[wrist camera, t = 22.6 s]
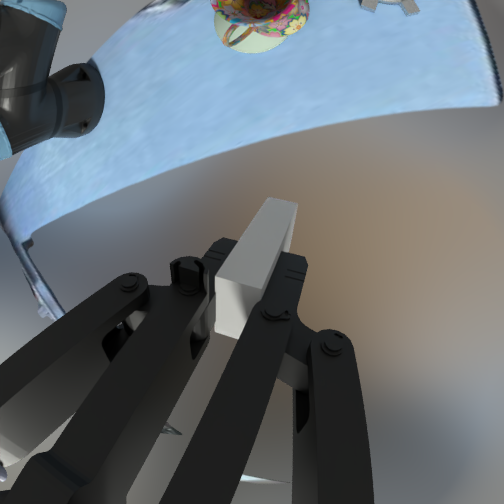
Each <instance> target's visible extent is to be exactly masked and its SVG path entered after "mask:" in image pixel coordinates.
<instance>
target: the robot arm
mask: <svg viewBox="0 0 504 504" xmlns="http://www.w3.org/2000/svg"><path fill="white" fill-rule="evenodd" d="M66 11H67V8H66V5H65V4H64V3H63V2H61V1H57V0H1V2H0V160H3V159H6V158H10V157H11V156H12V155H14V154H16V153H18V152H20V151H23V150H25V149H27V148H29V147H31V146H34V145H36V144H38V143H41V142H43V141H45V140H48V139H50V138H53V137H56V138H77V137H80V136H83V135H86V134H88V133H90V132H91V131H92V130H93V129H94V128H95V127H96V126H97V124H98V122H99V120H100V118H101V115H102V112H103V107H104V87H103V83H102V80H101V77H100V75H99V73H98V72H97V70H96V69H95V68H94V67H93V66H91V65H89V64H86V63H80V64H73V65H69V66H67V67H65V68H63V69H62V70H60V71H58V72H56V73H54V74H53V75H51V76H49V72H50V68H51V64H52V60H53V56H54V52H55V49H56V45H57V42H58V38H59V35H60V32H61V31H62V24H63V21H64V18H65V15H66ZM297 206H298V204H297V203H294V202H290V201H285V200H281V199H276V198H271V197H268V198H267V200H266V201H265V202H264V204H263V205H262V207H261V208H260V210H259V211H258V213H257V214H256V216H255V217H254V219H253V220H252V222H251V223H250V225H249V226H248V227H247V229H246V231H245V232H244V233H243V235H242V236H241V238H240V239H239V241H236V240H231V239H227V238H221V239H219V240H218V241H216V242H214V243H213V244H212V246H211V247H210V248H209V250H208V251H207V252H206V253H205V255H204V257H202V258H201V259H200V258H198V257H192V256H188V257H180V258H178V259H175V260H174V261H172V262H171V263H170V270H171V280H172V284H171V285H170V286H156V285H148V281H147V279H146V278H145V276H144V275H141V274H139V273H126V274H123V275H121V276H119V277H117V278H116V279H114V280H113V281H111V282H110V283H108V284H107V285H106V286H104V287H103V288H101V289H100V290H99V291H97V292H96V293H94V294H93V295H91V296H90V297H89V298H87V299H86V300H84V301H83V302H81V303H80V304H79V305H78V306H76V307H74V308H73V309H72V310H70V311H69V312H68V313H66V314H65V315H64V316H62V317H61V318H59V319H58V320H57V321H55V322H54V323H53V324H52V325H50V326H49V327H47V328H46V329H45V330H44V331H42V332H41V333H40V334H38V335H37V336H36V337H34V338H33V339H32V340H31V341H29V342H28V343H27V344H25V345H24V346H23V347H22V348H20V349H19V350H18V351H17V352H16V353H14V354H13V355H12V356H10V357H9V358H8V359H7V360H5V361H4V362H3V363H2V364H1V365H0V481H5V480H6V479H7V472H6V470H5V468H4V467H7V466H10V465H12V464H14V463H16V462H18V461H20V460H21V459H23V458H24V457H25V456H26V455H28V454H29V453H30V452H31V451H33V450H34V449H35V448H36V447H37V446H38V445H39V444H40V443H42V442H43V441H44V440H45V439H46V438H47V437H48V436H49V435H50V434H52V433H53V432H54V431H55V430H56V429H57V428H58V427H59V426H61V425H62V424H63V423H64V422H65V421H66V420H67V419H68V418H69V417H70V416H72V415H73V414H74V413H75V412H76V413H75V414H74V416H73V417H72V419H71V420H70V422H69V423H68V425H67V426H66V427H65V429H64V431H63V432H62V434H61V435H60V437H59V438H58V440H57V441H56V443H55V444H54V446H53V447H52V448H51V449H50V450H49V451H47V452H42V453H38V454H36V455H34V456H32V457H31V458H30V459H29V461H28V462H27V463H26V465H25V466H24V468H23V469H22V471H21V473H20V474H19V476H18V478H17V479H16V481H15V483H14V484H13V486H12V488H11V490H5V491H0V504H126V496H127V493H128V491H129V490H130V488H131V486H132V484H133V482H134V480H135V478H136V477H137V475H138V473H139V471H140V469H141V468H142V466H143V464H144V462H145V460H146V458H147V457H148V455H149V453H150V451H151V449H152V447H153V445H154V444H155V442H156V439H157V438H158V436H159V434H160V433H161V431H162V429H163V427H164V425H165V423H166V421H167V419H168V418H169V416H170V414H171V412H172V410H173V408H174V407H175V405H176V403H177V401H178V399H179V397H180V395H181V393H182V392H183V390H184V388H185V386H186V384H187V382H188V380H189V379H190V377H191V375H192V373H193V371H194V369H195V367H196V366H197V364H198V362H199V360H200V358H201V356H202V355H203V353H204V351H205V349H206V347H207V345H208V343H209V340H210V331H211V329H212V327H213V325H214V324H215V332H217V333H220V334H224V335H227V336H230V337H233V338H236V339H238V341H237V344H236V346H235V348H234V350H233V352H232V355H231V357H230V359H229V361H228V363H227V365H226V368H225V370H224V372H223V374H222V376H221V378H220V380H219V382H218V385H217V387H216V389H215V391H214V393H213V395H212V397H211V399H210V401H209V404H208V406H207V408H206V410H205V412H204V414H203V416H202V418H201V420H200V423H199V424H198V426H197V428H196V431H195V433H194V435H193V437H192V439H191V441H190V443H189V445H188V447H187V449H186V451H185V453H184V455H183V457H182V459H181V461H180V463H179V465H178V467H177V469H176V471H175V473H174V475H173V477H172V479H171V481H170V483H169V485H168V487H167V489H166V491H165V493H164V495H163V497H162V498H161V501H160V502H159V504H230V503H231V501H232V498H233V496H234V494H235V491H236V489H237V486H238V484H239V481H240V479H241V476H242V474H243V471H244V468H245V465H246V463H247V460H248V458H249V455H250V453H251V450H252V447H253V445H254V442H255V439H256V436H257V434H258V431H259V428H260V425H261V422H262V419H263V416H264V414H265V411H266V407H267V405H268V402H269V399H270V396H271V393H272V390H273V387H274V383H275V380H276V378H278V379H280V380H281V381H283V382H285V383H286V384H288V385H289V386H291V387H293V476H292V481H293V482H292V504H374V492H373V479H372V468H371V458H370V448H369V440H368V432H367V424H366V417H365V410H364V404H363V397H362V391H361V386H360V379H359V374H358V369H357V363H356V358H355V353H354V348H353V345H352V343H351V340H350V339H349V338H348V337H347V336H346V335H345V334H343V333H341V332H339V331H336V330H331V329H327V330H321V331H319V332H315V331H313V330H311V329H309V328H308V327H307V326H305V325H304V324H303V323H302V322H301V321H300V319H299V317H298V315H297V306H298V302H299V299H300V295H301V291H302V287H303V283H304V279H305V276H306V271H307V268H308V264H307V261H306V259H305V257H303V256H300V255H296V254H291V253H288V251H289V248H290V243H291V238H292V233H293V228H294V222H295V217H296V211H297ZM121 322H122V324H121V325H119V326H117V325H118V324H120V323H121Z"/></svg>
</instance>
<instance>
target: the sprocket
mask: <svg viewBox="0 0 504 504" xmlns="http://www.w3.org/2000/svg"><path fill="white" fill-rule="evenodd" d="M377 3H382V4H389V5H400V7H401V8H402V10H403V11H404V13H405V15H406V16H410V15H414V14H418V13H419V12H420V10H419V8H418V7H417V5H416V3H415V2H414V0H362V3H361V8H362V9H365V10H368V11H370V12H373V13H374V12H375V9H376V6H377Z"/></svg>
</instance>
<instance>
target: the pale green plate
mask: <svg viewBox="0 0 504 504" xmlns="http://www.w3.org/2000/svg"><path fill="white" fill-rule="evenodd" d="M214 25H215V30H216V33H217V35H218V37H219V38H220V39H221V41H222V42H223V37H224V34H225V33H226V31H227V29H228V28H229V27H230V26H231V25H232V23H230V22H228V21H226V20H224V19H223V18H221V17H220V16H219V15H218V14H217V13H215V17H214ZM248 28H249V27H245V26H239V27H238V28H237V29H236V30H235V31H234V32H233V34H232V35H231V37H230V39H229V42H231V41H233V40H235V39H236V38H238V37H239V36H240V35H241V34H243V33H244V32H245V31H246V30H247V29H248ZM287 37H288V36H284V37H267V36H264V35H261V34H259V33H257V32H254V31H253V32H252V33H251V34H250V35H249V36H248V37H246V38H245V39H244V40H243V41H241V42H240V43H238V44H237V45H235V46H232V47H230V48H232V49H234V50H236V51H239V52H243V53H261V52H265V51H268V50H271V49H273V48H275V47H276V46H278V45H280V44H281V43H282V42H283V41H284V40H285V39H286V38H287Z"/></svg>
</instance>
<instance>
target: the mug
mask: <svg viewBox="0 0 504 504" xmlns="http://www.w3.org/2000/svg"><path fill="white" fill-rule="evenodd" d="M210 2H211V5H212V7H213V9H214V10H215V12H216V13H217V14H218V15H219V16H220V17H221V18H223V19H224V20H226V21H228V22H230V23H232V25H231V26H230V27H229V28H228V29H227V31H226V33H225V34H224V37H223V44H224V45H225V46H227V47H232V46H235V45H237V44H238V43H240V42H241V41H243V40H244V39H245V38H246V37H248V36H249V35H250V34H251V33H252V32H253V31H254V32H257V33H259V34H261V35H264V36H267V37H284V36H288V35H291V34H293V33H295V32H297V31H298V30H299V29H301V28H302V27H303V25H304V24H305V23H306V21H307V19H308V16H309V3H308V1H307V0H210ZM239 26H245V27H249V28H248V29H247V30H246V31H245V32H244V33H243V34H241V35H240V36H239V37H238V38H236V39H235V40H233V41H231V42H229V39H230V37H231V35H232V34H233V32H234V31H235V30H236V29H237V28H238V27H239Z"/></svg>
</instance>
